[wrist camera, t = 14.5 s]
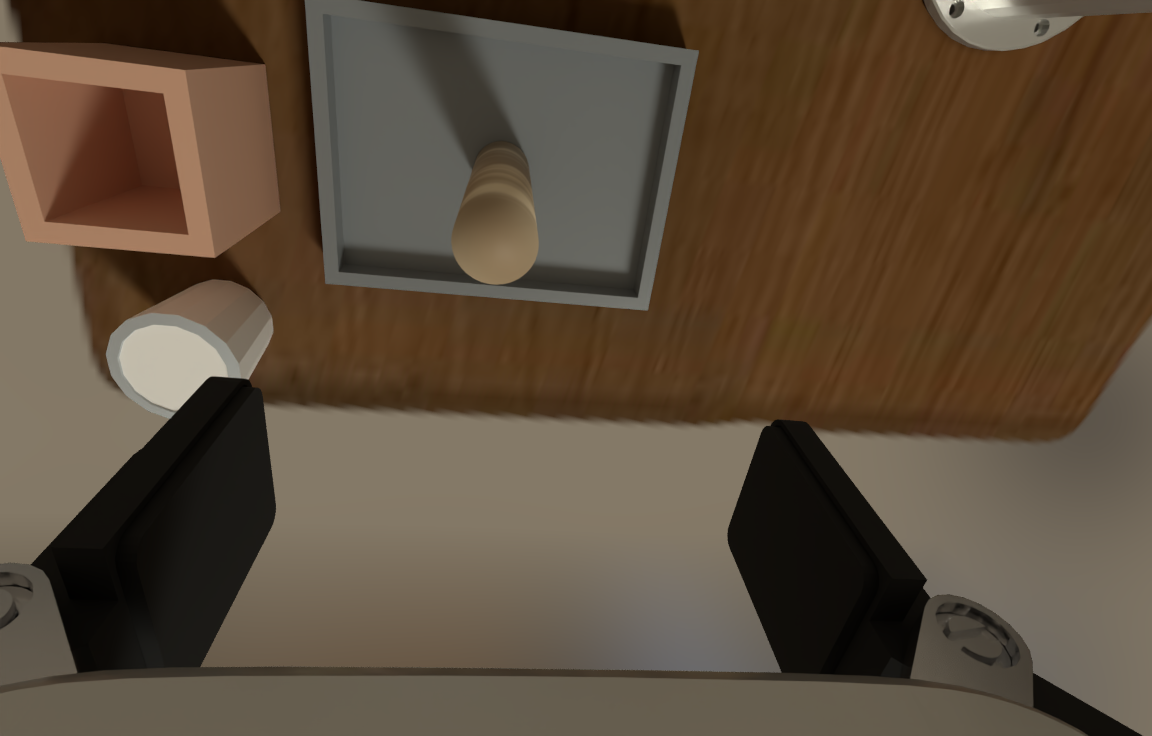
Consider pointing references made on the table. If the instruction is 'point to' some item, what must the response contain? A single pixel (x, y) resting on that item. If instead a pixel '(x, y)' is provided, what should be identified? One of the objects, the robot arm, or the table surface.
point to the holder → (136, 147)
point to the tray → (477, 118)
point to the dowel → (497, 217)
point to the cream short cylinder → (189, 344)
